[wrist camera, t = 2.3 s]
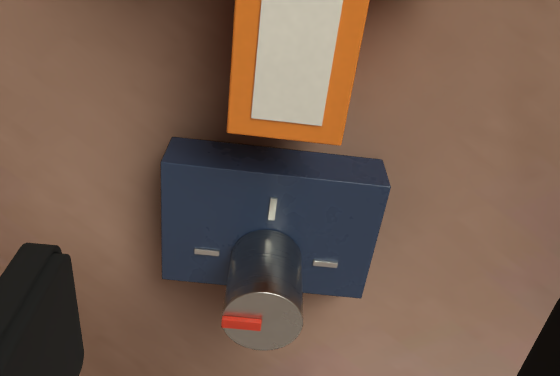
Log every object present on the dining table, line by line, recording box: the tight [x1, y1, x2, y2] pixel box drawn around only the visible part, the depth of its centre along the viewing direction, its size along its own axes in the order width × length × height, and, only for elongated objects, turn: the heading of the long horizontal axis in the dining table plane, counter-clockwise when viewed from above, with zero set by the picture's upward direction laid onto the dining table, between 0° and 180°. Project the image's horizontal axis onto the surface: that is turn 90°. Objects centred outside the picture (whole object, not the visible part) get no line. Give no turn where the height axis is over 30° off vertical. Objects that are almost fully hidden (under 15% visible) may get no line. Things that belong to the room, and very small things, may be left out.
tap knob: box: [221, 230, 303, 350], centre depth 27 cm, size 4×4×5 cm
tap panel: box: [161, 137, 391, 298], centre depth 30 cm, size 12×10×3 cm
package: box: [227, 0, 370, 145], centre depth 23 cm, size 5×7×6 cm
